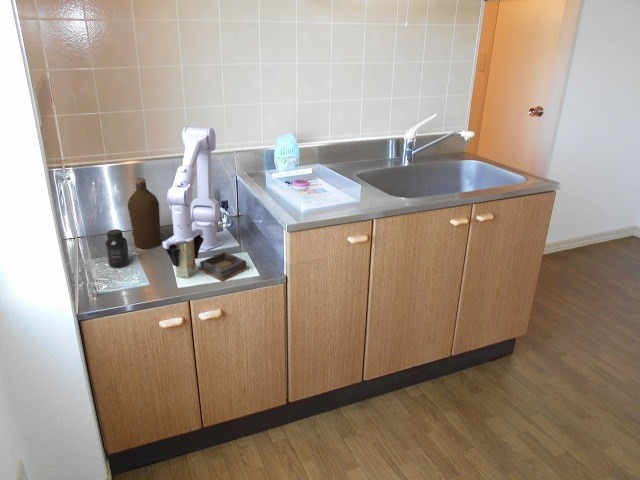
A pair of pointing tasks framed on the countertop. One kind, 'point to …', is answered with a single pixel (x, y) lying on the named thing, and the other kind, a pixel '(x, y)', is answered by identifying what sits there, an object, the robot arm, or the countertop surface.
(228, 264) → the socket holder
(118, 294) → the countertop surface
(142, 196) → the olive oil
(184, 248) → the skincare box
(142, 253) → the countertop surface
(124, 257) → the supplement bottle
